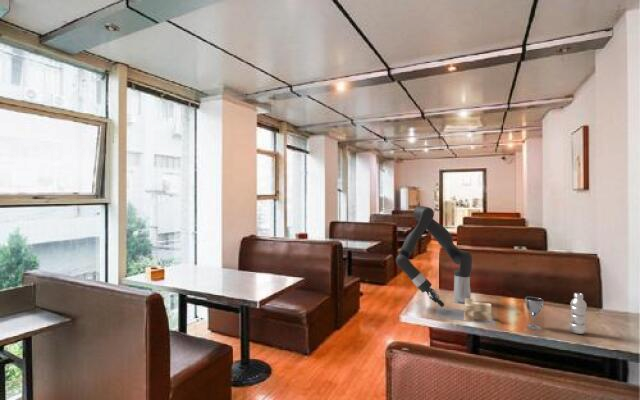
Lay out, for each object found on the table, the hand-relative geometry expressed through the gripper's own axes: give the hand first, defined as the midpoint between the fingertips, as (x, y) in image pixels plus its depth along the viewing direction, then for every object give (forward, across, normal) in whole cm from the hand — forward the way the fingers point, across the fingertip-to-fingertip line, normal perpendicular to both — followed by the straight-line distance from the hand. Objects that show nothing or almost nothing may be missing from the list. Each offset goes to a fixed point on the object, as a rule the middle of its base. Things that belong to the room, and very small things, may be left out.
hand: (443, 305), depth 191 cm
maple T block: (+15, 0, -10) cm, 18 cm away
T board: (+11, 0, -4) cm, 12 cm away
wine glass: (+35, -1, -28) cm, 45 cm away
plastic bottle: (+49, 0, -41) cm, 64 cm away
